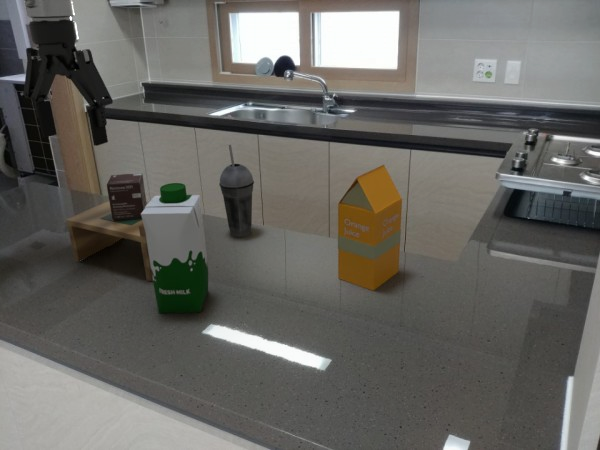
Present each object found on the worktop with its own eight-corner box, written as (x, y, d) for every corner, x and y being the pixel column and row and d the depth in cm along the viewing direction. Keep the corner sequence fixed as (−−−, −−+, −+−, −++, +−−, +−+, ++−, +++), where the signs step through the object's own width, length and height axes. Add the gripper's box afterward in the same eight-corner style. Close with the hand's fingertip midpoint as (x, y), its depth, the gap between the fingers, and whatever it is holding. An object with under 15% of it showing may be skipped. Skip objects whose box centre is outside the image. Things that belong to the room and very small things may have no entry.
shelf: (75, 260, 107) (63, 209, 103) (126, 234, 118) (117, 187, 114) (151, 281, 98) (142, 226, 94) (198, 250, 110) (192, 200, 105)
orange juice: (399, 271, 99) (404, 167, 91) (373, 291, 93) (376, 181, 85) (363, 260, 104) (365, 160, 96) (337, 278, 98) (336, 173, 90)
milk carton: (214, 288, 95) (202, 181, 88) (204, 316, 87) (191, 201, 79) (165, 288, 96) (149, 182, 88) (151, 316, 88) (132, 202, 80)
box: (112, 221, 102) (105, 184, 99) (116, 209, 107) (110, 174, 104) (145, 218, 102) (139, 182, 99) (148, 207, 108) (142, 172, 105)
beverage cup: (263, 229, 118) (258, 141, 110) (244, 242, 113) (237, 150, 105) (237, 224, 122) (230, 137, 114) (217, 236, 116) (208, 146, 108)
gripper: (-15, 19, 95) (13, 137, 103) (87, 21, 84) (108, 152, 93) (22, 17, 101) (45, 128, 109) (121, 19, 90) (138, 142, 99)
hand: (74, 139), depth 101 cm, fingers open, 13 cm apart
